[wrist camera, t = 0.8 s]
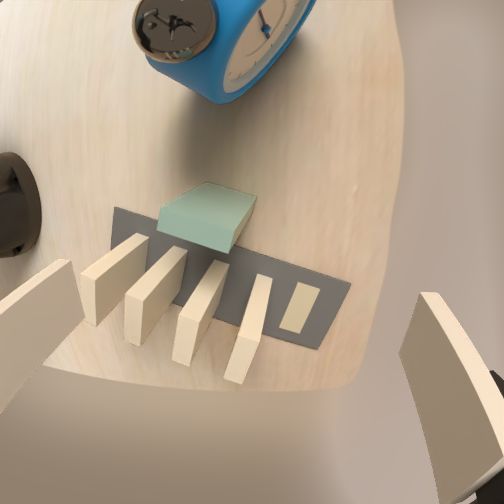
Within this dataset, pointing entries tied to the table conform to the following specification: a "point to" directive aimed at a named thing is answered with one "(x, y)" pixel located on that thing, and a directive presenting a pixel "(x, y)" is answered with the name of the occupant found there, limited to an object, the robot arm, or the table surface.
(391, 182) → the table surface
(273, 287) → the mat
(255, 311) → the domino
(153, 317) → the domino
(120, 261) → the domino
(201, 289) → the domino
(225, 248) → the domino
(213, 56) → the alarm clock
